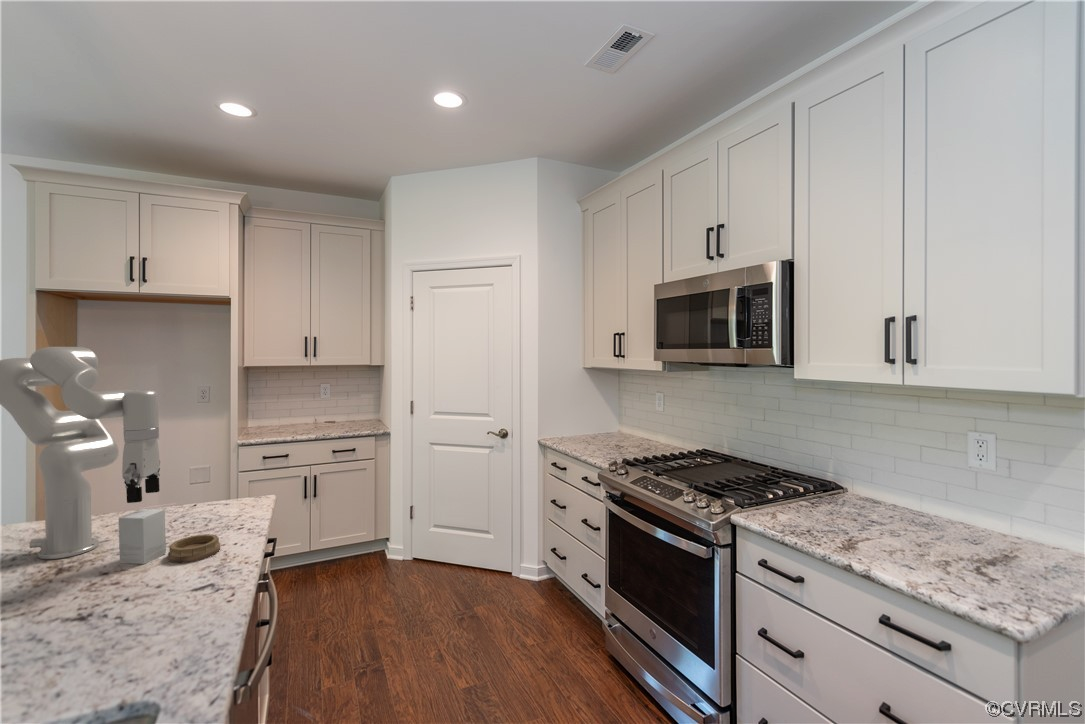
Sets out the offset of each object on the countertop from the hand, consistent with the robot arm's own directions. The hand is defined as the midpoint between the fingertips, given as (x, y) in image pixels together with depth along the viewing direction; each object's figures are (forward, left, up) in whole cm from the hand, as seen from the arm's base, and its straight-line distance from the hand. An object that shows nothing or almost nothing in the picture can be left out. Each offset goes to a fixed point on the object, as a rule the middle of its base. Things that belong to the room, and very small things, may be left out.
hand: (143, 497), depth 135 cm
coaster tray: (+12, 0, -17) cm, 21 cm away
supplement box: (-1, 0, -17) cm, 17 cm away
